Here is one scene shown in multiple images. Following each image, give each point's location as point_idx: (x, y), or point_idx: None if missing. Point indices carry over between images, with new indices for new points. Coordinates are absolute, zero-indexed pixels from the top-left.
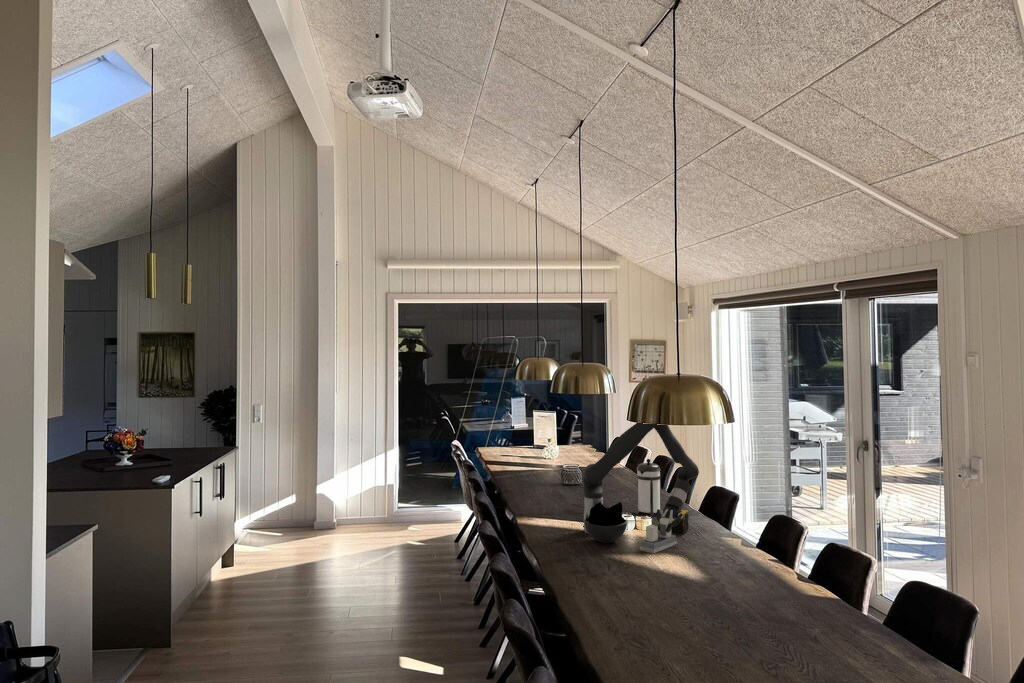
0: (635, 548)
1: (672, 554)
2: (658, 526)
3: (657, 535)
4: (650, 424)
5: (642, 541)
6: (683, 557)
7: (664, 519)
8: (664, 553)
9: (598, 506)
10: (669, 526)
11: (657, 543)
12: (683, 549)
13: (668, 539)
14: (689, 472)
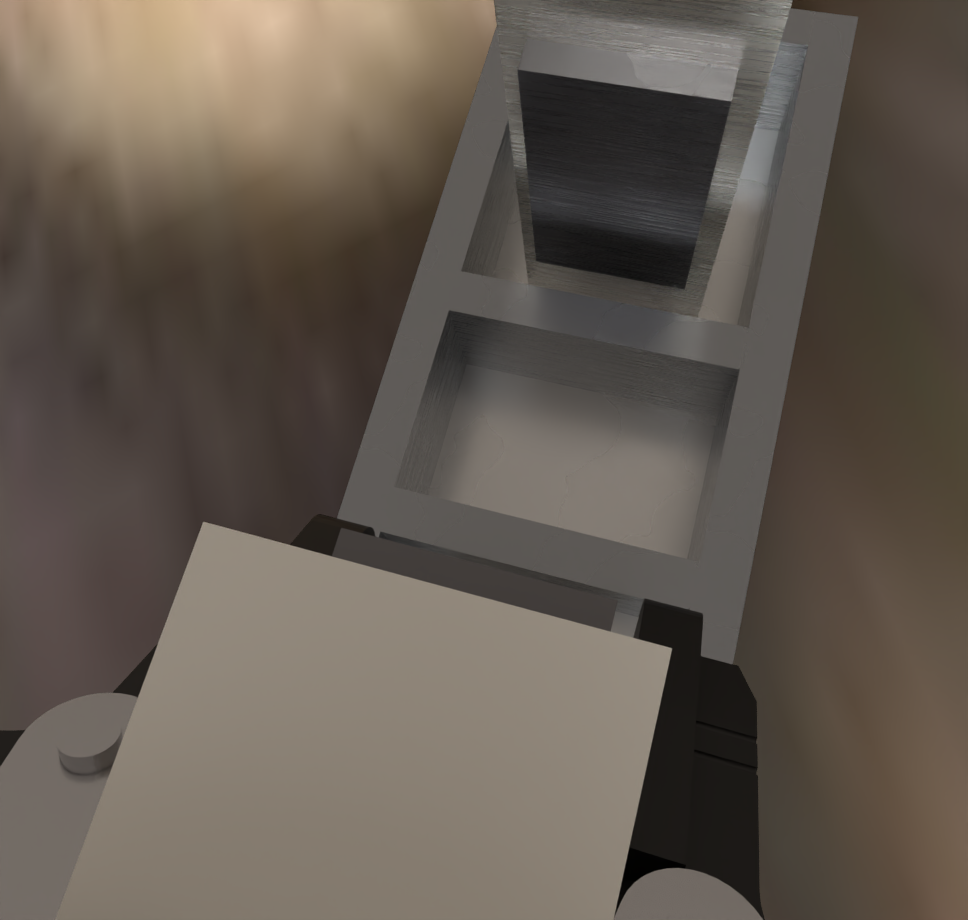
0: (947, 182)
1: (223, 182)
2: (696, 662)
3: (514, 124)
4: None
5: (820, 17)
6: (36, 127)
7: (376, 727)
8: (359, 168)
9: None
10: None
11: (481, 95)
12: (83, 564)
13: None
14: None
